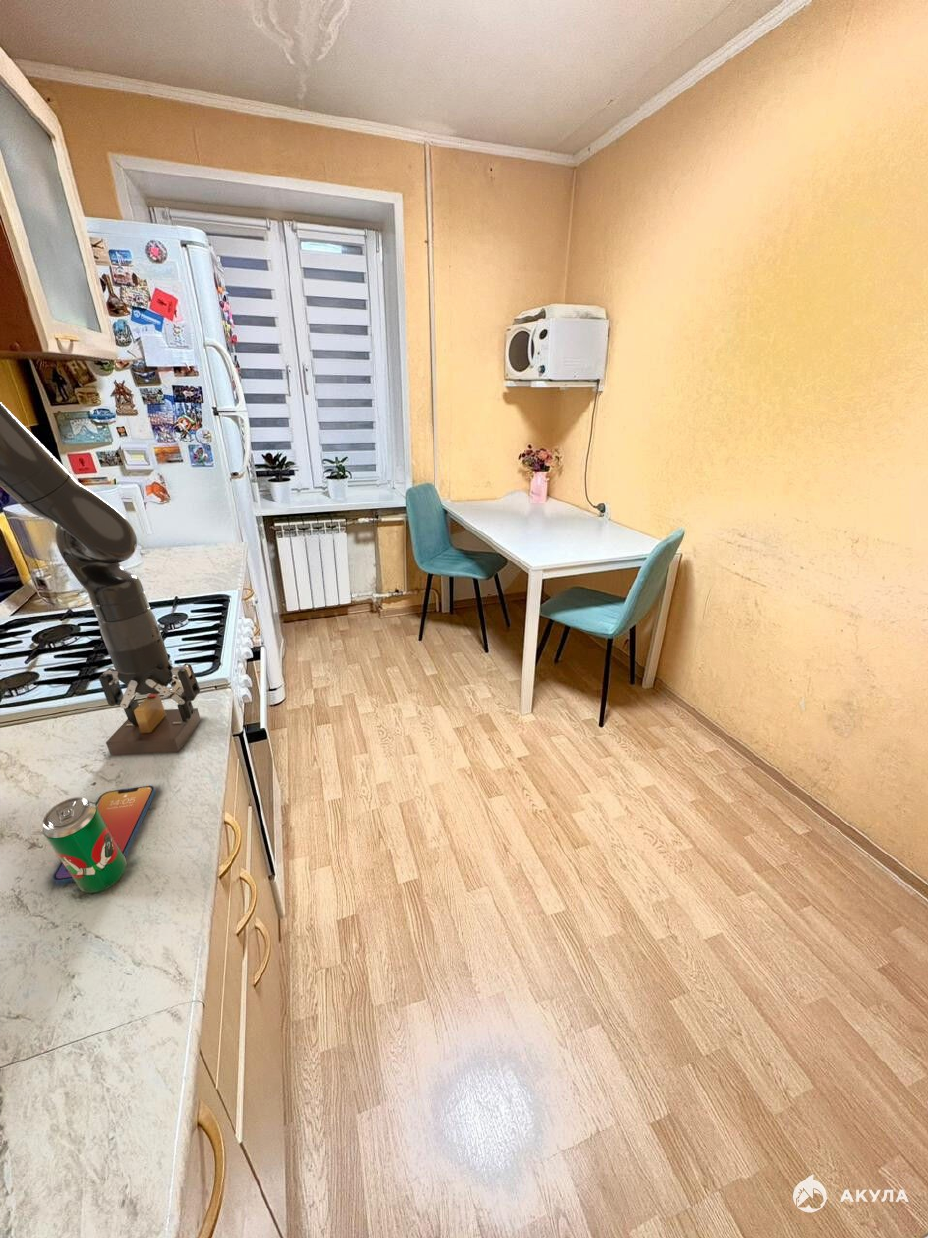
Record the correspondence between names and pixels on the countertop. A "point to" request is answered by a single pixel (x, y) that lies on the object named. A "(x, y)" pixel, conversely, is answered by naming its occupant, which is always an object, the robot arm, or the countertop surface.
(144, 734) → the plate
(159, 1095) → the countertop surface
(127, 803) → the smartphone
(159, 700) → the lock knob
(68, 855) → the soda can
